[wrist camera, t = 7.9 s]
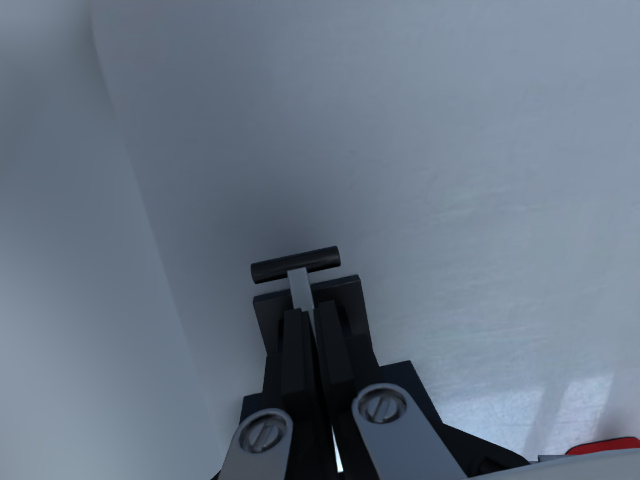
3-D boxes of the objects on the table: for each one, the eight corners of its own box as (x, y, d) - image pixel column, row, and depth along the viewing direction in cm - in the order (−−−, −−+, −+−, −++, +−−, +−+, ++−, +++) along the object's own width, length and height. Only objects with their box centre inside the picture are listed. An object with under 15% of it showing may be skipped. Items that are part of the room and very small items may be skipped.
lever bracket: (253, 296, 26) (225, 416, 15) (357, 274, 27) (406, 376, 15) (278, 383, 29) (269, 543, 18) (373, 362, 29) (426, 508, 18)
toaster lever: (255, 267, 21) (246, 260, 19) (336, 249, 22) (336, 241, 19) (289, 465, 19) (283, 486, 17) (380, 445, 19) (387, 462, 17)
